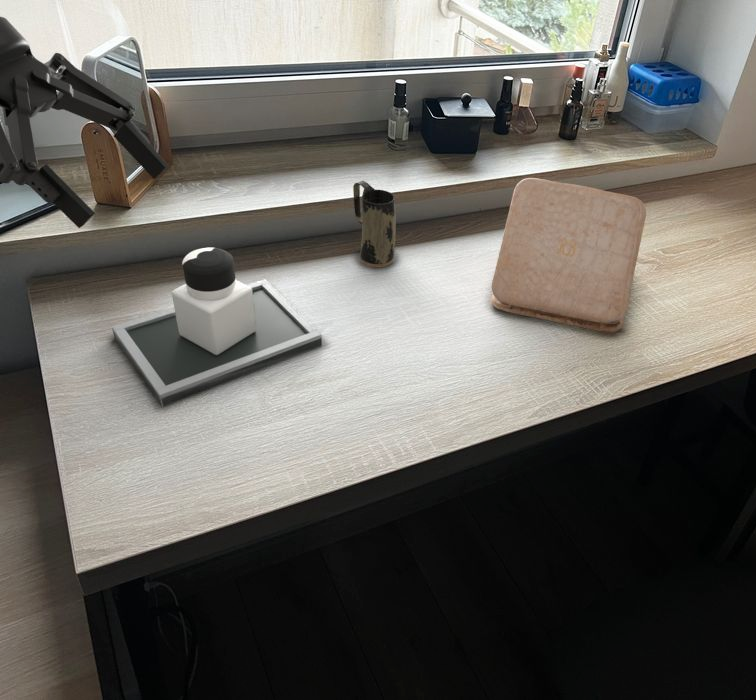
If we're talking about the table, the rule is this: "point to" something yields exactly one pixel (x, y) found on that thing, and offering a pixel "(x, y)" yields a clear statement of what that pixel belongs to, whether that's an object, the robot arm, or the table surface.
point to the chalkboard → (202, 368)
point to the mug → (376, 225)
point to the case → (568, 254)
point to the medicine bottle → (213, 301)
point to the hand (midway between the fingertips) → (127, 195)
